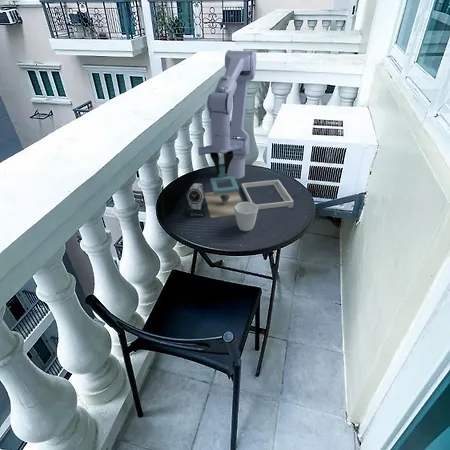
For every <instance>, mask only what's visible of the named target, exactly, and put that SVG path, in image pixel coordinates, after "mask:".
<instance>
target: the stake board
mask: <svg viewBox="0 0 450 450" xmlns="http://www.w3.org/2000/svg"><path fill="white" fill-rule="evenodd" d="M203 196H204V199H205V202H206V204H208V213H209V217H210V218H218V217H219V218H221V217H229V216H236V215H235V209H234V207H235V206H236V205H237V204H238V203H241V202H243V199H242V198H241V195H240V193H239V192H233V193H224V194H215V195H214V192H213V191H212V192H203Z"/></svg>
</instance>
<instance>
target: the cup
mask: <svg viewBox="0 0 450 450" xmlns="http://www.w3.org/2000/svg"><path fill="white" fill-rule="evenodd" d="M256 205H257V204H256V203H254V202H253V203H251V202H248V200H247V201H242V202H241V203H238V204H237V205H236V206H235V207H234V209H235V215H234V216H235V221H236V224H237V227H238V228H239V230H240V231H242V232H249V231H252V230H253V228H254V227H255V225H256V220H257V216H258V211H259V210H258V207H257V206H256Z"/></svg>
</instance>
